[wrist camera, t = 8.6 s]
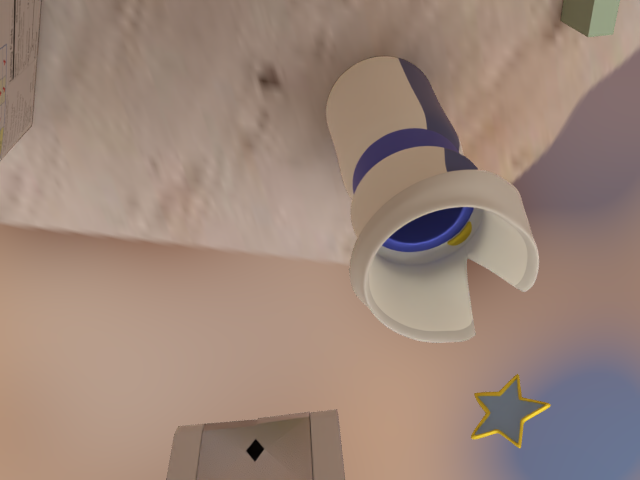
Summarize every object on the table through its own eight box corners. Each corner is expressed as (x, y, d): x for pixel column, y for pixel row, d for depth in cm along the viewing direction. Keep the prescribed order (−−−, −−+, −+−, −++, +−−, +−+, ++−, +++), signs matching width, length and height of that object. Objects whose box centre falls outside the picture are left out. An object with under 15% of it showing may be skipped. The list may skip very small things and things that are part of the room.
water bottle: (468, 95, 40) (673, 358, 19) (388, 183, 43) (488, 484, 23) (378, 22, 36) (508, 243, 16) (301, 124, 40) (324, 411, 19)
